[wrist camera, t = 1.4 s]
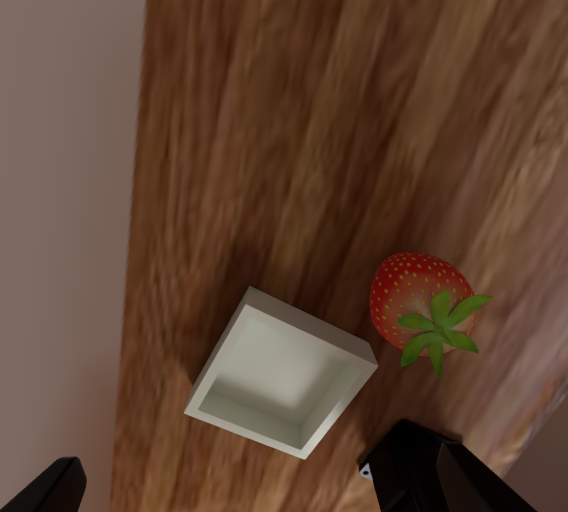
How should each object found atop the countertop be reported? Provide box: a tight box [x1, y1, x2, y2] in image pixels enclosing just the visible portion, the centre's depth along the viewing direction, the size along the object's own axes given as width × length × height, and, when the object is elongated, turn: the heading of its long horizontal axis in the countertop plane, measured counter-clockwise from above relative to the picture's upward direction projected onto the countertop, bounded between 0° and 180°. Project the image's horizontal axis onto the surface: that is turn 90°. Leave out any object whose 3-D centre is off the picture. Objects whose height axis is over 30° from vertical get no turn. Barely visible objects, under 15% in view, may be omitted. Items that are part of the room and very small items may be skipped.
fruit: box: [369, 252, 493, 378], centre depth 18 cm, size 5×5×8 cm
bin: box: [184, 286, 378, 460], centre depth 23 cm, size 9×9×2 cm
